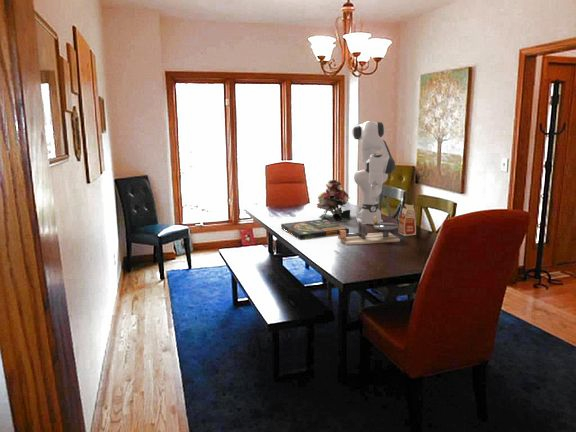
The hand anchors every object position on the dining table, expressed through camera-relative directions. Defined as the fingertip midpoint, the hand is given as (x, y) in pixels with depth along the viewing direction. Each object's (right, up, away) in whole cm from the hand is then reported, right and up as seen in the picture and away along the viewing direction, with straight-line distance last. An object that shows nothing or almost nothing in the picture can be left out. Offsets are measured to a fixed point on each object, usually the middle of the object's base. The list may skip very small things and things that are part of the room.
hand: (375, 202), depth 270 cm
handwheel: (+6, -15, +1) cm, 16 cm away
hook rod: (-14, -22, 0) cm, 26 cm away
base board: (-4, -23, +2) cm, 23 cm away
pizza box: (-37, -19, +29) cm, 50 cm away
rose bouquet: (-19, -10, +66) cm, 70 cm away
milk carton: (+23, -20, +13) cm, 33 cm away
